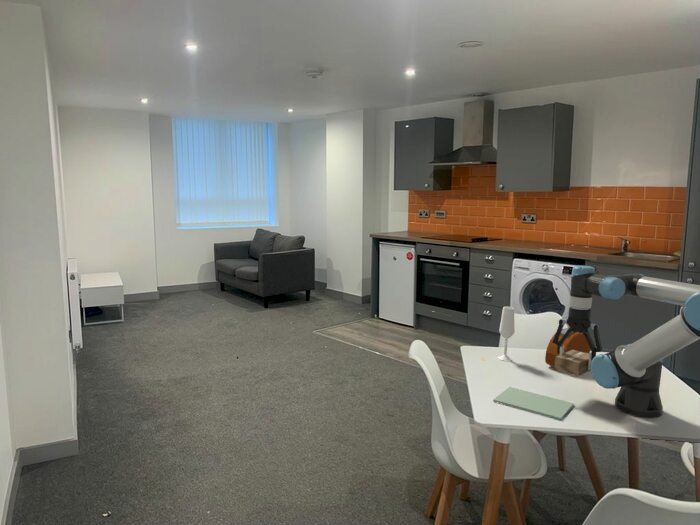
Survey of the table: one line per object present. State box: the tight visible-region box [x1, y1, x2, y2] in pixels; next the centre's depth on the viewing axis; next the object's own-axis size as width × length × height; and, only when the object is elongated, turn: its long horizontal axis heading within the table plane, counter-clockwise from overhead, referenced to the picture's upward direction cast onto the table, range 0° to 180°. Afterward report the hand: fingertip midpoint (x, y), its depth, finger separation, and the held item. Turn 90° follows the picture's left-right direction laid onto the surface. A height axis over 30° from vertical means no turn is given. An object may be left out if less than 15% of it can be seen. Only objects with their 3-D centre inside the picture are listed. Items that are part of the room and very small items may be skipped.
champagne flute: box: [497, 306, 516, 362], centre depth 241 cm, size 7×7×24 cm
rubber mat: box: [493, 386, 575, 421], centre depth 194 cm, size 24×16×1 cm, turn 53°
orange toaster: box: [544, 327, 591, 368], centre depth 236 cm, size 23×9×17 cm, turn 129°
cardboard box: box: [554, 350, 591, 377], centre depth 200 cm, size 9×14×5 cm, turn 132°
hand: (575, 365), depth 200 cm, fingers closed on cardboard box, 10 cm apart
